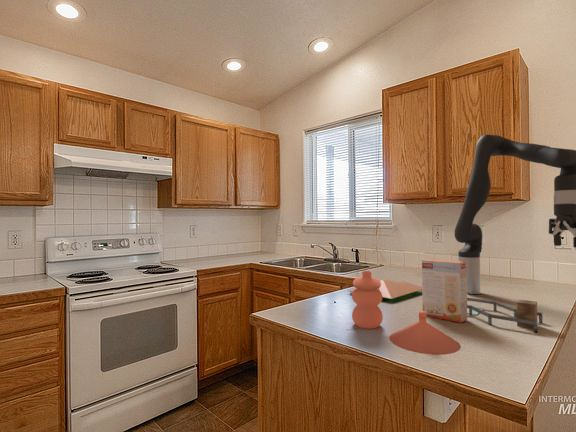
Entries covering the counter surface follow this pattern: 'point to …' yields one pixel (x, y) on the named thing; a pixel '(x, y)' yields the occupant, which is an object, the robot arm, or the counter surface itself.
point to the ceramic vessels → (410, 338)
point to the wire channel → (502, 316)
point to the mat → (474, 311)
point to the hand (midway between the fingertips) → (567, 246)
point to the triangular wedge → (395, 289)
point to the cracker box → (444, 289)
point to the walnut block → (526, 312)
